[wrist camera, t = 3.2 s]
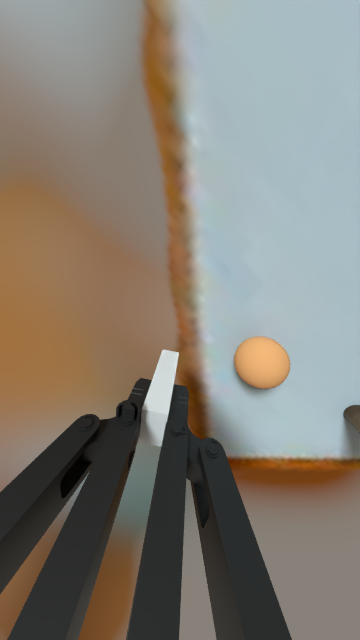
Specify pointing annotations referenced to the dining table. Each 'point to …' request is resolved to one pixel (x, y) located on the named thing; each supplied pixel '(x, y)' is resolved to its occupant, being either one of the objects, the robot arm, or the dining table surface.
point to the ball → (262, 362)
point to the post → (353, 416)
